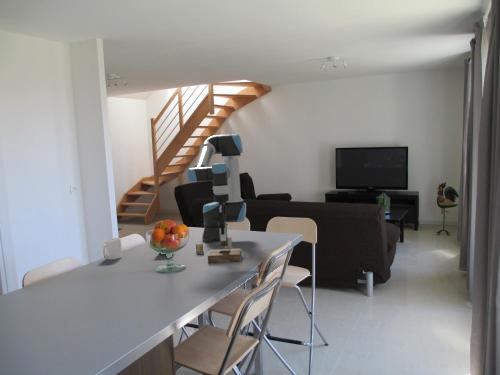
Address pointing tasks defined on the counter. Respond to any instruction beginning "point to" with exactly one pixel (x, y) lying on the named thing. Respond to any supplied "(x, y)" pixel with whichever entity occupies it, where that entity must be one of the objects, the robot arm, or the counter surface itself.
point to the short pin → (199, 248)
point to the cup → (113, 248)
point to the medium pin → (229, 243)
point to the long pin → (225, 243)
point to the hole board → (225, 256)
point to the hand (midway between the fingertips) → (224, 239)
